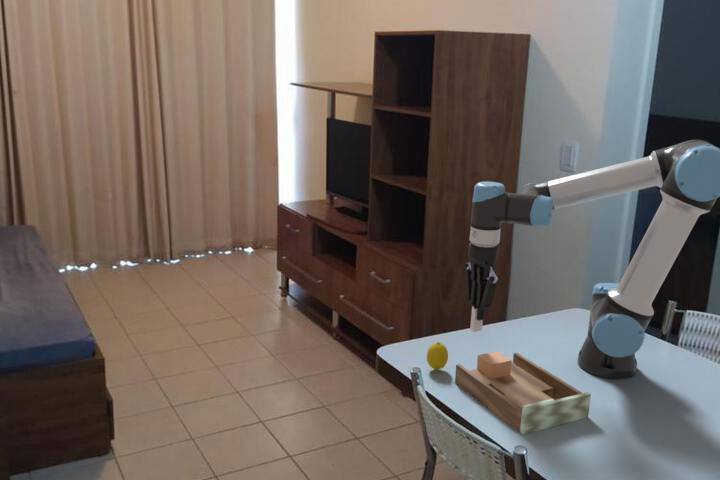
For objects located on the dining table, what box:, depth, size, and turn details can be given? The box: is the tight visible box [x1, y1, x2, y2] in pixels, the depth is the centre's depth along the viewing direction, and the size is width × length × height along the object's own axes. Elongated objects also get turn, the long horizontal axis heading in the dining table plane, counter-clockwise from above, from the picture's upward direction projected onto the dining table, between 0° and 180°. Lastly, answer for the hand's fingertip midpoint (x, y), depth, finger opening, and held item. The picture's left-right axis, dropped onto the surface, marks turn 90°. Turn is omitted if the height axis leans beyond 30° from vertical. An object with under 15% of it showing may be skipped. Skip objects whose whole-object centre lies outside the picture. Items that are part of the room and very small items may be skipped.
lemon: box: [426, 341, 449, 371], centre depth 185 cm, size 6×6×8 cm
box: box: [454, 352, 592, 435], centre depth 171 cm, size 19×27×6 cm
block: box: [476, 350, 513, 379], centre depth 180 cm, size 6×6×4 cm
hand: (475, 329), depth 185 cm, fingers closed
